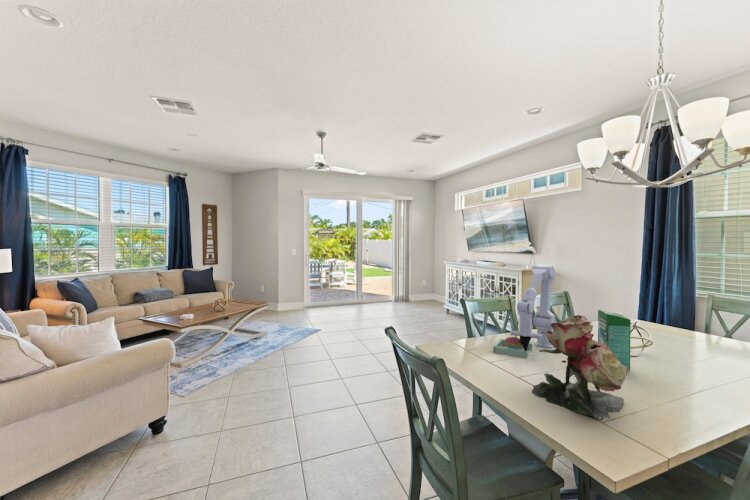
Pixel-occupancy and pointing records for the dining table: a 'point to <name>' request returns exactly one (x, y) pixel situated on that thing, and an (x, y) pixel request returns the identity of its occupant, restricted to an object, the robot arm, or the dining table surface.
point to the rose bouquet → (582, 370)
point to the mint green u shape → (511, 351)
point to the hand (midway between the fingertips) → (525, 350)
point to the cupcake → (513, 342)
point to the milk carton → (615, 335)
